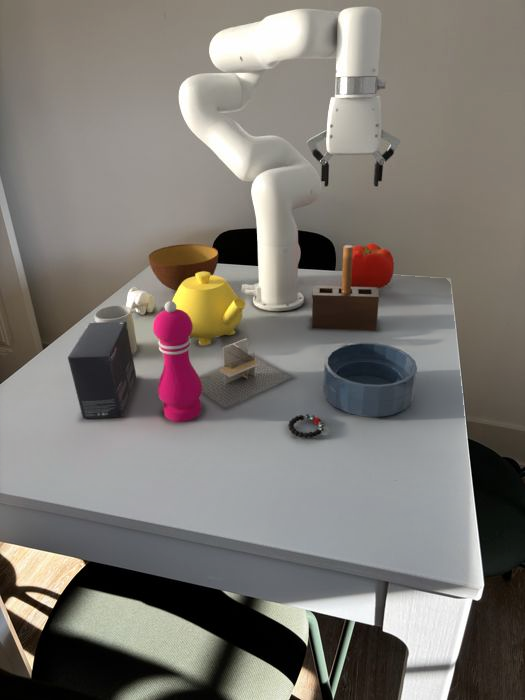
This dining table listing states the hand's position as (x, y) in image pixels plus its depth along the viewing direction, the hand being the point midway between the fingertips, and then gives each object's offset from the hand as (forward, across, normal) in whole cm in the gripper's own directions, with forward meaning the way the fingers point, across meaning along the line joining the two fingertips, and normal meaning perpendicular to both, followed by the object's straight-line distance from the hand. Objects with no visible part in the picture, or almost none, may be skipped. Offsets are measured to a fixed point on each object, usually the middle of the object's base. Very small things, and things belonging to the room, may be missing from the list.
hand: (350, 185), depth 103 cm
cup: (+31, +47, +18) cm, 59 cm away
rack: (+30, 0, 0) cm, 30 cm away
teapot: (+31, +28, +8) cm, 42 cm away
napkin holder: (+31, +19, +26) cm, 44 cm away
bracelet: (+30, +6, +40) cm, 51 cm away
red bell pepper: (+31, -6, -24) cm, 39 cm away
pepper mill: (+31, +27, +37) cm, 55 cm away
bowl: (+31, +41, -18) cm, 54 cm away
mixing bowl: (+30, -4, +29) cm, 42 cm away
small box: (+31, +41, +34) cm, 61 cm away
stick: (+30, 0, 0) cm, 30 cm away
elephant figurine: (+31, +48, -3) cm, 57 cm away
